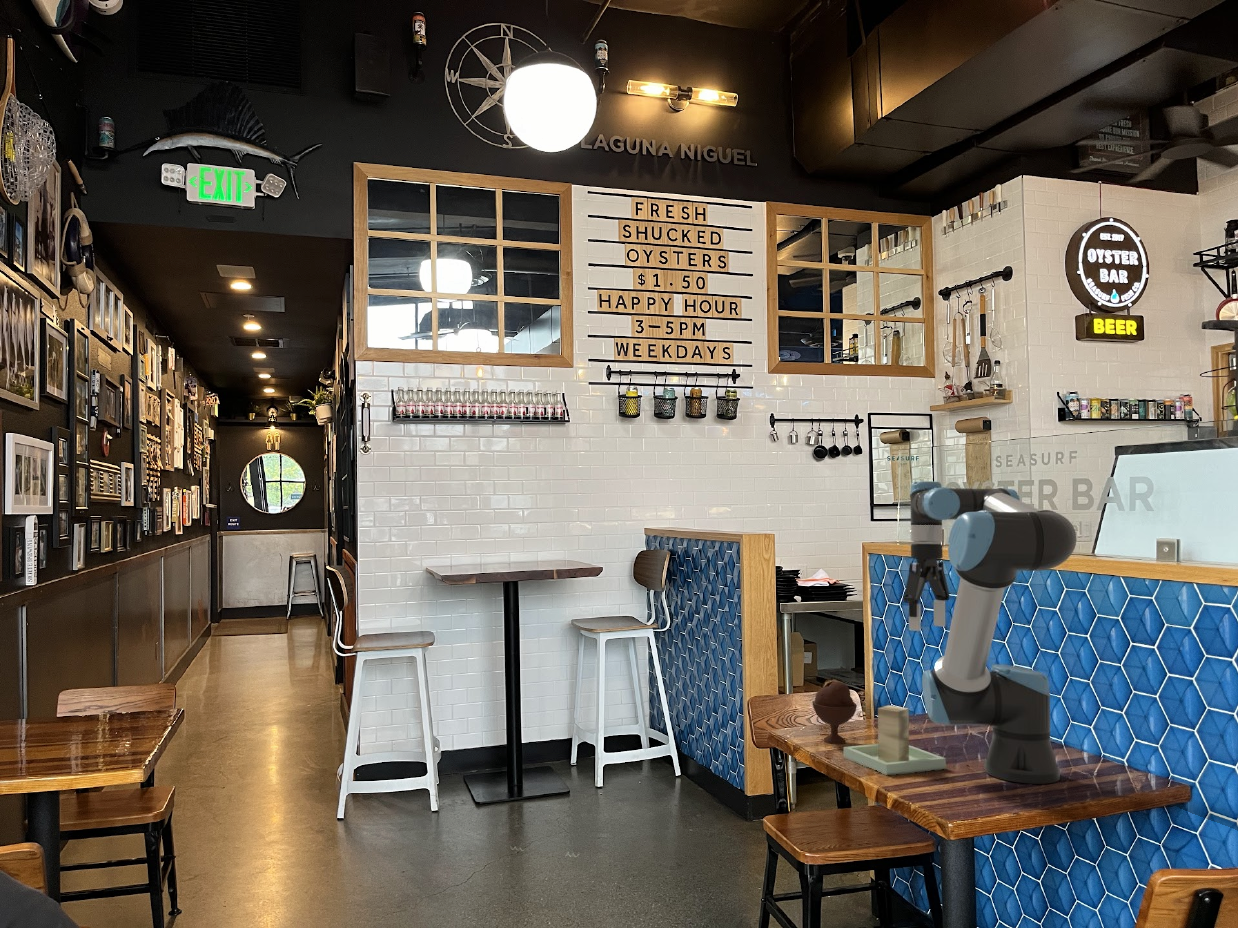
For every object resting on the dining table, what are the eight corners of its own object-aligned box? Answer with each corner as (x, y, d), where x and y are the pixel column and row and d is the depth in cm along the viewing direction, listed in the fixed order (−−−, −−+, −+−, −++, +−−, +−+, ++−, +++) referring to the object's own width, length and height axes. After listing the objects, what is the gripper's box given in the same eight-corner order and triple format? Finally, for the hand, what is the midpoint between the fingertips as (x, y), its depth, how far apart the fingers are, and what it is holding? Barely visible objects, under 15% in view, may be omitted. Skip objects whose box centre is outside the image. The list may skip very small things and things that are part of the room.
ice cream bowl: (852, 736, 234) (852, 677, 235) (859, 747, 223) (859, 685, 224) (810, 735, 235) (810, 676, 236) (815, 745, 224) (815, 684, 225)
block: (888, 757, 213) (888, 705, 213) (909, 761, 209) (908, 708, 210) (878, 761, 209) (877, 708, 210) (898, 765, 206) (898, 711, 206)
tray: (945, 769, 204) (945, 758, 205) (886, 775, 199) (886, 764, 199) (899, 751, 219) (899, 741, 219) (843, 757, 214) (843, 746, 214)
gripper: (934, 541, 240) (935, 623, 239) (888, 543, 223) (889, 630, 221) (962, 542, 235) (963, 625, 234) (917, 544, 217) (918, 633, 216)
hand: (927, 628), depth 228 cm, fingers open, 13 cm apart
